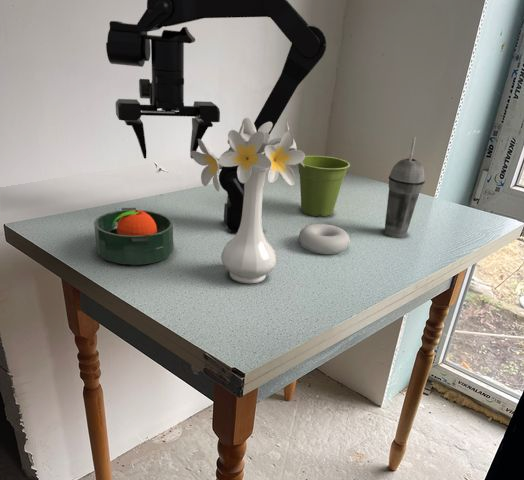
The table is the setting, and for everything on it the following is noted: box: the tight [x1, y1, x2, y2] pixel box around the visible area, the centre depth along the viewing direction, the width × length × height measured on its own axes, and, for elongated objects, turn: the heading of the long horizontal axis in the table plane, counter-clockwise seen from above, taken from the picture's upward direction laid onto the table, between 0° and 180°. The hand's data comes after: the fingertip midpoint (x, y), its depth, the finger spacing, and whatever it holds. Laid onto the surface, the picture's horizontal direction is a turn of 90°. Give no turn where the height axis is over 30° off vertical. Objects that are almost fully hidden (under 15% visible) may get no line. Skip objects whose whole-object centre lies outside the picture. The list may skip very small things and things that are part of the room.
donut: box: [298, 223, 351, 255], centre depth 109 cm, size 10×4×10 cm
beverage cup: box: [384, 135, 426, 238], centre depth 114 cm, size 7×7×20 cm
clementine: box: [112, 209, 157, 236], centre depth 99 cm, size 8×7×7 cm
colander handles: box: [121, 207, 149, 245], centre depth 98 cm, size 3×17×1 cm, turn 18°
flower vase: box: [191, 117, 306, 285], centre depth 88 cm, size 13×18×25 cm
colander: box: [93, 209, 174, 266], centre depth 99 cm, size 13×13×6 cm
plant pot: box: [297, 155, 351, 217], centre depth 125 cm, size 12×12×11 cm
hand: (168, 158), depth 109 cm, fingers open, 9 cm apart
